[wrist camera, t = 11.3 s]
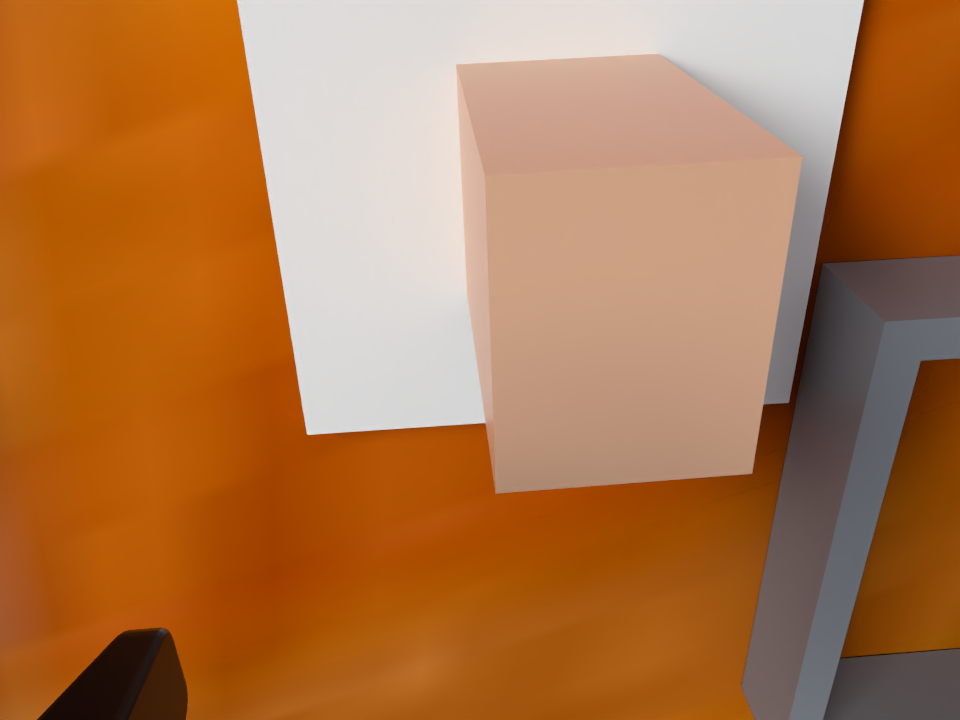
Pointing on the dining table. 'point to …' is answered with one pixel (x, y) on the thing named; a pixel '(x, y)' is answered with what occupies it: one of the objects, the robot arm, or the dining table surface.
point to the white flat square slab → (437, 167)
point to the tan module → (619, 269)
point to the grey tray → (849, 498)
